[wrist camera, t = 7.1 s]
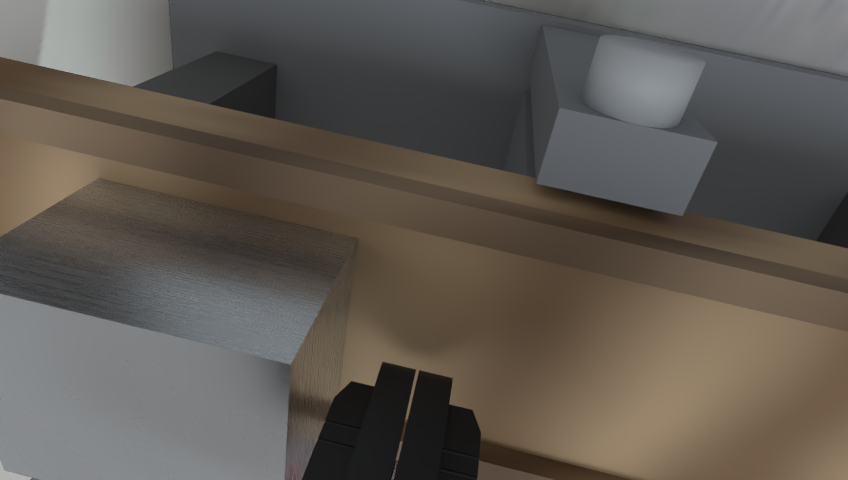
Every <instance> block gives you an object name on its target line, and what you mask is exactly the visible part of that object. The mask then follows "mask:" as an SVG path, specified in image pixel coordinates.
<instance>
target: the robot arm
mask: <svg viewBox="0 0 848 480" xmlns="http://www.w3.org/2000/svg"><path fill="white" fill-rule="evenodd" d="M415 373H416V369H412V368H408V367H403V366H399V365H395V364H391V363H387V362H382V364H381V367H380V370H379V373H378V377H377V380H376V383H375V386H371V385H366V384H362V383H358V382H354V381H351V382H350V383H349V384H348V385H347V386H346V387H345V388H344V389H342V390H341V391H340V392H339V393H338V394H337V395H336V396H335V397H334V399H333V402H332V404H331V407H330V409H329V412H328V414H327V417H326V419H325V423H324V424H323V427H322V429H321V432H320V434H319V437H318V441H317V442H316V444H315V447H314V449H313V452H312V455H311V457H310V460H309V462H308V465H307V467H306V470H305V472H304V475H303V477H302V480H391V478H392V474H393V470H394V466H395V461H396V457H397V453H398V449H399V444H400V440H401V436H402V431H403V427H404V422H405V418H406V414H407V409H408V404H409V400H410V395H411V391H412V386H413V382H414V377H415ZM452 382H453V378H450V377H446V376H442V375H438V374H434V373H429V372H425V371H421V370H419V373H418V377H417V382H416V386H415V390H414V395H413V399H412V403H411V408H410V412H409V416H408V421H407V425H406V429H405V434H404V438H403V442H402V447H401V451H400V456H399V460H398V464H397V469H396V473H395V477H394V480H477V477H478V467H479V454H480V441H481V431H480V428H479V426H478V423H477V420H476V418H475V415H474V412H473V410H471V409H467V408H463V407H458V406H454V405H450V404H449V402H450V396H451V389H452Z"/></svg>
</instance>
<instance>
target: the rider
mask: <svg viewBox="0 0 848 480" xmlns="http://www.w3.org/2000/svg"><path fill="white" fill-rule="evenodd" d="M357 241H358V238H356V237H352V236H347V235H343V234H338V233H334V232H330V231H325V230H321V229H317V228H312V227H308V226H304V225H299V224H295V223H291V222H286V221H282V220H278V219H273V218H269V217H265V216H260V215H256V214H252V213H247V212H243V211H239V210H234V209H230V208H225V207H221V206H217V205H212V204H208V203H204V202H199V201H195V200H191V199H186V198H182V197H178V196H173V195H169V194H165V193H160V192H156V191H152V190H147V189H143V188H139V187H134V186H130V185H126V184H121V183H117V182H112V181H108V180H104V179H99V178H98V179H96V180H94V181H93V182H91V183H89V184H88V185H86V186H84V187H83V188H81V189H79V190H78V191H76V192H74V193H73V194H71V195H69V196H68V197H66V198H64V199H63V200H61V201H59V202H58V203H56V204H54V205H53V206H51V207H49V208H48V209H46V210H44V211H43V212H41V213H39V214H38V215H36V216H34V217H33V218H31V219H29V220H28V221H26V222H24V223H23V224H21V225H19V226H18V227H16V228H14V229H13V230H11V231H9V232H8V233H6V234H4V235H3V236H1V237H0V459H1V462H2V465H3V468H4V470H5V471H9V472H13V473H16V474H20V475H24V476H28V477H32V478H36V479H39V480H302V477H303V475H304V472H305V470H306V467H307V465H308V462H309V460H310V457H311V455H312V452H313V449H314V447H315V444H316V442H317V441H318V437H319V434H320V432H321V429H322V427H323V424H324V423H325V419H326V417H327V414H328V412H329V409H330V407H331V404H332V402H333V399H334V397H335V396H336V395H337V394H338V393H339V389H340V381H341V373H342V365H343V357H344V348H345V340H346V332H347V324H348V315H349V307H350V299H351V291H352V283H353V274H354V266H355V258H356V250H357Z"/></svg>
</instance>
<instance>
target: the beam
mask: <svg viewBox="0 0 848 480" xmlns="http://www.w3.org/2000/svg"><path fill="white" fill-rule="evenodd" d="M98 178H99V179H104V180H108V181H112V182H117V183H121V184H126V185H130V186H134V187H139V188H143V189H147V190H152V191H156V192H160V193H165V194H169V195H173V196H178V197H182V198H186V199H191V200H195V201H199V202H204V203H208V204H212V205H217V206H221V207H225V208H230V209H234V210H239V211H243V212H247V213H252V214H256V215H260V216H265V217H269V218H273V219H278V220H282V221H286V222H291V223H295V224H299V225H304V226H308V227H312V228H317V229H321V230H325V231H330V232H334V233H338V234H343V235H347V236H352V237H356V238H358V241H357V250H356V258H355V266H354V274H353V283H352V291H351V299H350V307H349V315H348V324H347V332H346V340H345V348H344V357H343V365H342V373H341V381H340V389H339V392H340V391H341V390H342V389H344V388H345V387H346V386H347V385H348V384H349V383H350V382H351V381H354V382H358V383H362V384H366V385H371V386H375V383H376V380H377V377H378V373H379V370H380V367H381V364H382V362H387V363H391V364H395V365H399V366H403V367H408V368H412V369H416V373H415V377H414V382H413V386H412V391H411V395H410V400H409V404H408V409H407V414H406V418H405V422H404V427H403V431H402V436H401V440H400V444H399V449H398V453H397V457H396V461H398V460H399V456H400V451H401V447H402V442H403V438H404V434H405V429H406V425H407V421H408V416H409V412H410V408H411V403H412V399H413V395H414V390H415V386H416V382H417V377H418V373H419V370H421V371H425V372H429V373H434V374H438V375H442V376H446V377H450V378H453V382H452V389H451V396H450V402H449V404H450V405H454V406H458V407H463V408H467V409H471V410H473V412H474V415H475V418H476V420H477V423H478V426H479V428H480V431H481V441H480V454H479V467H478V477H477V480H848V248H844V247H839V246H835V245H830V244H826V243H821V242H817V241H813V240H808V239H804V238H799V237H795V236H790V235H786V234H782V233H777V232H773V231H768V230H764V229H759V228H755V227H751V226H746V225H742V224H737V223H733V222H728V221H724V220H720V219H715V218H711V217H706V216H702V215H697V214H693V213H689V212H684V214H683V216H679V215H675V214H670V213H666V212H661V211H657V210H652V209H648V208H643V207H639V206H635V205H630V204H626V203H621V202H617V201H612V200H608V199H603V198H599V197H594V196H590V195H585V194H581V193H576V192H572V191H567V190H563V189H558V188H554V187H549V186H545V185H540V184H536V178H534V177H529V176H525V175H520V174H516V173H511V172H507V171H503V170H498V169H494V168H489V167H485V166H480V165H476V164H472V163H467V162H463V161H458V160H454V159H449V158H445V157H441V156H436V155H432V154H427V153H423V152H418V151H414V150H410V149H405V148H401V147H396V146H392V145H387V144H383V143H379V142H374V141H370V140H365V139H361V138H356V137H352V136H348V135H343V134H339V133H334V132H330V131H325V130H321V129H317V128H312V127H308V126H303V125H299V124H294V123H290V122H286V121H281V120H277V119H272V118H268V117H263V116H259V115H255V114H250V113H246V112H241V111H237V110H232V109H228V108H224V107H219V106H215V105H210V104H206V103H201V102H197V101H193V100H188V99H184V98H179V97H175V96H170V95H166V94H161V93H157V92H153V91H148V90H144V89H139V88H135V87H130V86H126V85H122V84H117V83H113V82H108V81H104V80H99V79H95V78H91V77H86V76H82V75H77V74H73V73H68V72H64V71H60V70H55V69H51V68H46V67H42V66H37V65H33V64H28V63H24V62H20V61H15V60H11V59H6V58H2V57H0V237H1V236H3V235H4V234H6V233H8V232H9V231H11V230H13V229H14V228H16V227H18V226H19V225H21V224H23V223H24V222H26V221H28V220H29V219H31V218H33V217H34V216H36V215H38V214H39V213H41V212H43V211H44V210H46V209H48V208H49V207H51V206H53V205H54V204H56V203H58V202H59V201H61V200H63V199H64V198H66V197H68V196H69V195H71V194H73V193H74V192H76V191H78V190H79V189H81V188H83V187H84V186H86V185H88V184H89V183H91V182H93V181H94V180H96V179H98Z"/></svg>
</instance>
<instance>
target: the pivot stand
mask: <svg viewBox="0 0 848 480" xmlns="http://www.w3.org/2000/svg"><path fill="white" fill-rule="evenodd" d="M169 13H170V28H171V43H172V58H173V70H171V71H169V72H166V73H164V74H162V75H159V76H157V77H155V78H152V79H150V80H148V81H145V82H143V83H141V84H138V85H136V86H134V87H135V88H139V89H144V90H148V91H153V92H157V93H161V94H166V95H170V96H175V97H179V98H184V99H188V100H193V101H197V102H201V103H206V104H210V105H215V106H219V107H224V108H228V109H232V110H237V111H241V112H246V113H250V114H255V115H259V116H263V117H268V118H272V119H277V120H281V121H286V122H290V123H294V124H299V125H303V126H308V127H312V128H317V129H321V130H325V131H330V132H334V133H339V134H343V135H348V136H352V137H356V138H361V139H365V140H370V141H374V142H379V143H383V144H387V145H392V146H396V147H401V148H405V149H410V150H414V151H418V152H423V153H427V154H432V155H436V156H441V157H445V158H449V159H454V160H458V161H463V162H467V163H472V164H476V165H480V166H485V167H489V168H494V169H498V170H503V171H507V172H511V173H516V174H520V175H525V176H529V177H534V178H536V184H540V185H545V186H549V187H554V188H558V189H563V190H567V191H572V192H576V193H581V194H585V195H590V196H594V197H599V198H603V199H608V200H612V201H617V202H621V203H626V204H630V205H635V206H639V207H643V208H648V209H652V210H657V211H661V212H666V213H670V214H675V215H679V216H683V214H684V212H689V213H693V214H697V215H702V216H706V217H711V218H715V219H720V220H724V221H728V222H733V223H737V224H742V225H746V226H751V227H755V228H759V229H764V230H768V231H773V232H777V233H782V234H786V235H790V236H795V237H799V238H804V239H808V240H813V241H817V242H821V243H826V244H830V245H835V246H839V247H844V248H848V77H844V76H840V75H835V74H830V73H825V72H821V71H816V70H811V69H806V68H802V67H797V66H792V65H787V64H782V63H778V62H773V61H768V60H763V59H759V58H754V57H749V56H744V55H739V54H735V53H730V52H725V51H720V50H716V49H711V48H706V47H701V46H696V45H692V44H687V43H682V42H677V41H673V40H668V39H663V38H658V37H654V36H649V35H644V34H639V33H634V32H630V31H625V30H620V29H615V28H611V27H606V26H601V25H596V24H591V23H587V22H582V21H577V20H572V19H568V18H563V17H558V16H553V15H549V14H544V13H539V12H534V11H529V10H525V9H520V8H515V7H510V6H506V5H501V4H496V3H491V2H486V1H482V0H169Z"/></svg>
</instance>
